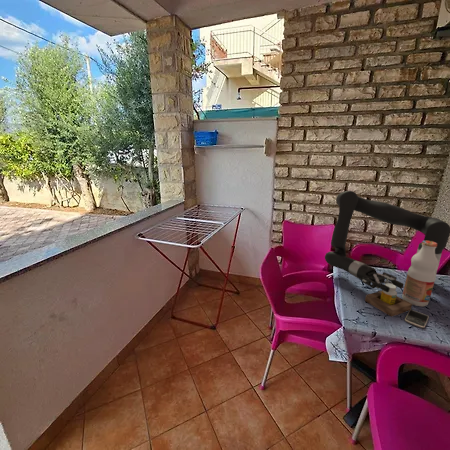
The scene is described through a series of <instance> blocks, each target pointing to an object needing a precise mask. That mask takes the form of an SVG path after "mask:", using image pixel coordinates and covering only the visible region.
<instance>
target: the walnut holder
mask: <svg viewBox="0 0 450 450" xmlns="http://www.w3.org/2000/svg"><path fill="white" fill-rule="evenodd" d="M381 293H382V290H378V291H376V292H371V293H368V294H365V298H364V301H365V302H366V303H367V304H370V305H371V306H373V307H375V308H376V309H378V310H379V311H381V312H383V313H384V314H385V315H387V316H389V317H391V318H392V317H395V316H398V315H401V314H404V313H407V312H409V311H410V309H412V307H413V305H412V304H411V303H409V302H407V301H405V300H404V299H403V298H401V297H399V296H396V300H395V304H394V305H389V304H387V303H386V302H384V301H382V300H380V298H381Z"/></svg>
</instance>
